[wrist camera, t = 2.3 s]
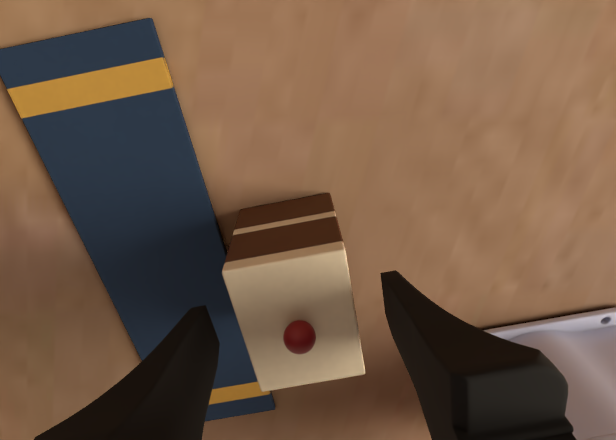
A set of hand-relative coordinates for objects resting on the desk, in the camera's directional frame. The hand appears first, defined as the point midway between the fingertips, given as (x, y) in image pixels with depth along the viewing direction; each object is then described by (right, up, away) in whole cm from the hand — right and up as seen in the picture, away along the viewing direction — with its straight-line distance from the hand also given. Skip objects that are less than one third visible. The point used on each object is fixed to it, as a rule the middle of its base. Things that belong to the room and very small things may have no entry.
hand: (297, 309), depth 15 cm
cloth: (-7, +1, +4) cm, 8 cm away
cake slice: (0, +2, +4) cm, 5 cm away
